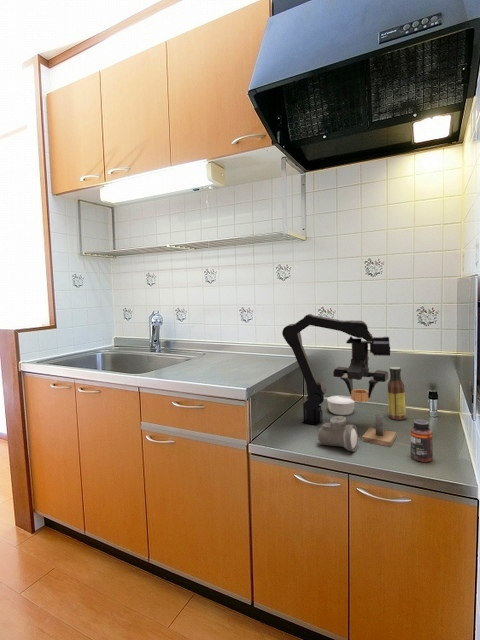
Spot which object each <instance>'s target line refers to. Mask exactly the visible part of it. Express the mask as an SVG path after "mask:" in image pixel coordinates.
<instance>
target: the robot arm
mask: <svg viewBox="0 0 480 640" xmlns="http://www.w3.org/2000/svg"><path fill="white" fill-rule="evenodd" d="M310 326H312V327H318V328H323V329H328V330H333V331H339V332H341V333H344V334H346V335H349V338H348V339H347V340H346V344H351V358H350V364H349V365H348V367H346V366H337V367H336V368H334V369H333V372H332V376H333V377H334V378H339V379H340V380H343V382H344V383H345V385H346V387H347V390H348V392H349V395H350V396H351V391H352V390H353V389H354V387H353V386H354V385H353V383H354V382H353V380H357V381H359V380H362V379H363V378H370V380H368V391H369V392H368V396H369V398H370V399H371V397H372V394H373V391H374V389H375V386H376V385H377V384H378V383H381V382H382V383H385V382H386V381H387V380H388V379H389V372H388V371H387V370H381V369H380V370H378V369H377V370H375V371H374V372H371V371H369V370H370V368H369V359H370V357H369V353H370V354H372V355H373V356H376V357H377V356H379V357H385V356H387V357H390V356H391V346H390V345H391V344H390V337H389V336H379V337H376V336H373V334H371V332H370V331H369V329H368V328H369V327H368V324H367V323H366V322H365V321H363V320H341V319H335V318H330V317H326V316H325V317H324V316H319V315H314V314H312V313H309V314H305V315H304V317H303V318H301V319H300V320H299V321H297V322H296V323H289V324H288V325H286V326H285V327H284V328H283V329H282V331H281V333H282V337H283V339H284V340H285V342H286V343H287V345H288V346H289V347H290V349H291V350H292V352H293V354H294V357H295V359H296V362H297V364H298V367H299V369H300V372H301V375H302V376H303V379H304V381H305V385H306V393H307V396H306V397H305V399H304V401H303V403H302V413H303V414H302V415H303V419H302V420H301V423H303V424H309V425H314V426H318V425H320V423H322V421H324V418H323V413H324V411H323V409H322V404H323V403H324V400H325V397H326V391H327V388H325V386H324V382H323V380H320V381H319V380H318V379H317V377H316V375H315V373H314V370H313V367H312V365H311V363H310V360H309V357H308V355H307V353H306V351H305V348H304V346H303V340H302V333H301V332H302V331H303V330H305V329H306V328H308V327H310ZM362 339H363V340H362Z"/></svg>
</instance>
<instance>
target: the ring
mask: <svg viewBox="0 0 480 640" xmlns="http://www.w3.org/2000/svg"><path fill="white" fill-rule="evenodd" d="M368 392H369V389H368V390H367V389H363V388H355V389H354V388H353V390H352V391H351V395H350V397H351V399H352V400H353V401H355V402H357V403H366V402H367V403H368V402H369V401H370V400H371V397H370V398H369V396H368Z"/></svg>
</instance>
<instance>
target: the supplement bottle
mask: <svg viewBox="0 0 480 640" xmlns="http://www.w3.org/2000/svg"><path fill="white" fill-rule="evenodd" d="M429 426H430V422H429V421H427V420H425V419H421V418H420V419H415V420H414V421H413V426H412V427H410V457H411V458H412V459H413V460H414V461H417V462H421V463H427V462H431V461H433V456H434V455H433V449H434V448H433V447H434V445H433V430H432V429H431V428H430V427H429Z"/></svg>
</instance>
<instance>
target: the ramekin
mask: <svg viewBox="0 0 480 640" xmlns="http://www.w3.org/2000/svg"><path fill="white" fill-rule="evenodd" d="M326 402H327V405H328V410H329V411H330V413H332V414H334V415H335V416H349V415H351V414H352V413H354V409H355V404H356V401H353V400H352V399H351V396H346V395H331V396H328V397H327V399H326Z"/></svg>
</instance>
